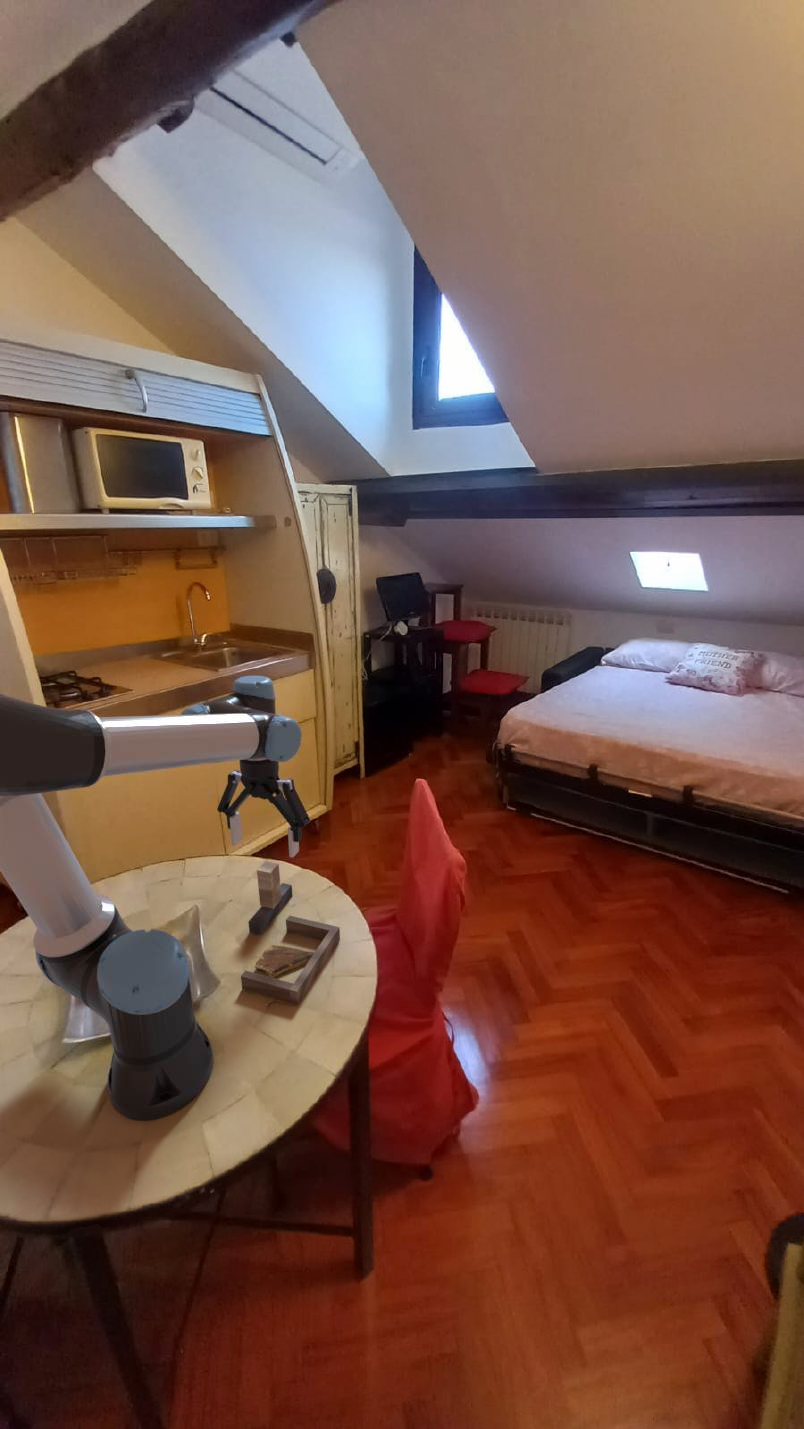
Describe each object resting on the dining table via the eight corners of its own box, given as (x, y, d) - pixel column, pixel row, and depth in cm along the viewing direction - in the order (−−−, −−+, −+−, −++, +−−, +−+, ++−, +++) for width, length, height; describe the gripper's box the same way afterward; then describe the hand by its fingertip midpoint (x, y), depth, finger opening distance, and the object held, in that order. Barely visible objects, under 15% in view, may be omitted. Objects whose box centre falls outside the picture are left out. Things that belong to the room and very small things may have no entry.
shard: (320, 959, 117) (320, 951, 117) (305, 987, 110) (304, 979, 110) (270, 949, 120) (269, 942, 119) (252, 976, 113) (251, 969, 112)
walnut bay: (298, 1005, 106) (297, 991, 105) (242, 989, 109) (240, 976, 108) (340, 939, 122) (339, 927, 121) (290, 927, 125) (289, 915, 124)
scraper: (261, 936, 123) (256, 887, 119) (247, 932, 124) (242, 884, 120) (294, 896, 136) (290, 850, 132) (281, 893, 137) (278, 848, 133)
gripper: (324, 755, 117) (327, 849, 124) (216, 739, 125) (224, 829, 131) (306, 769, 110) (310, 868, 117) (193, 752, 118) (203, 846, 125)
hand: (265, 848), depth 124 cm, fingers open, 13 cm apart
